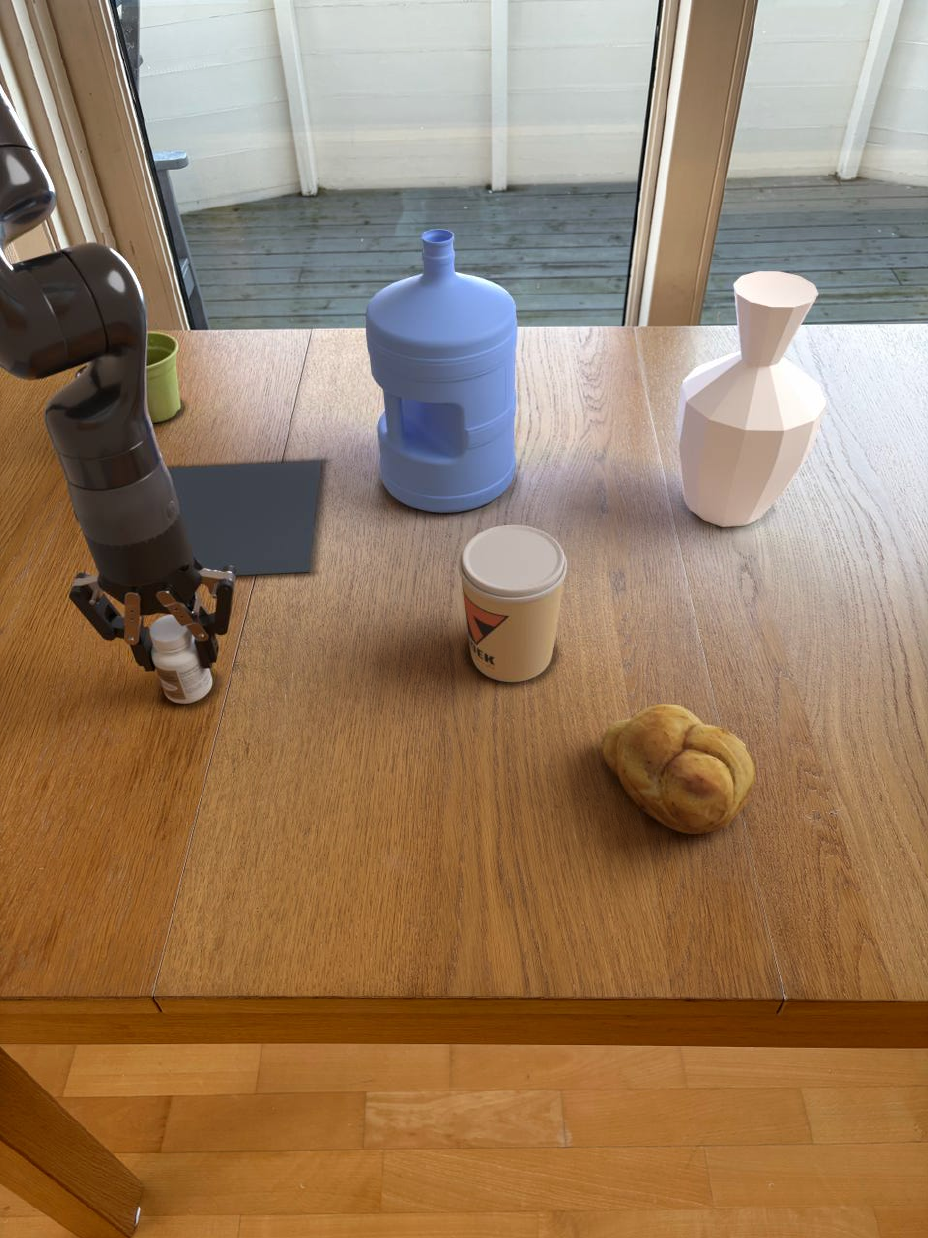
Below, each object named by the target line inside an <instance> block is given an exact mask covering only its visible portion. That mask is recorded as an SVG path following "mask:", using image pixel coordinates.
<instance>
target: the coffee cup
mask: <svg viewBox="0 0 928 1238" xmlns="http://www.w3.org/2000/svg"><path fill="white" fill-rule="evenodd" d="M458 570H459V575H460V578H461V587H462V595H463V604H464V610H465V611H464V613H465V619H466V627H467V635H468V642H469V649H470V656H471V659H472V661H473V663H474V666H475V667H476V668H477V669H478V671H480V672H481V673H482V674H483V675H485V676H486V677H488V678H491V679H492V680H496V681H499V682H505V683H519V682H520V683H521V682H525V681H528V680H531V679H533V678H536V677H537V676H539V675H540V674H541V673H543V672H544V671H545V670H546V669H547V668H548V666H549V664H550V663H551V660H552V657H553V652H554V647H555V643H556V642H555V641H556V635H557V630H558V629H557V628H558V621H559V616H560V611H561V610H560V609H561V602H562V596H563V589H564V581H565V577H566V575H567V570H568V562H567V557H566V554H565V552H564V550H563V548H562V547H561V545H560V543H558V541H557V540H556V539H555V538H554V537H553V536H552V535H550V534H548V533H547V532H545V531H543V530H541V529H538V528H536V527H533V526H527V525H522V524H502V525H497V526H493V527H490V528H487V529H485V530H482V531H480V532H478V533H477V534H475V535H474V536H473V537H472V538H470V540H469V541H468V542H467V543H466V544H465V546H464V548H463V549H462V550H461V553H460V555H459V560H458Z"/></svg>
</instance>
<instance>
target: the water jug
mask: <svg viewBox="0 0 928 1238" xmlns="http://www.w3.org/2000/svg"><path fill="white" fill-rule="evenodd" d="M420 240H421V242H422V245H423V246H422V247H423V250H422V252H421V258H422V262H423V263H422V264H423V272H422V273H420V274H417V275H414V276H411V277H407V278H404V279H401V280H398V281H395V282H393V283H391V284H389V285H387V286H385V287H383V288H382V289H381V290H379V291H378V292H376V293H375V295H374V296H373V297H371V299H370V301H369V302H368V303H367V306H366V310H365V338H366V347H367V352H368V355H369V362H370V372H371V376H372V378H373V380H374V381H375V383H376V384H377V385H378V386H379V387H380V389H382V394H383V395H382V396H383V404H384V411H383V412H382V413H381V415H380V416H379V419H378V421H377V426H376V427H377V428H376V432H377V441H378V450H379V457H378V458H379V459H378V463H379V474H380V478H381V479H380V480H381V481H382V484H383V486H384V488H385V489H386V490H387V492H388V493H389V494H390V495H391V496H392V497H393V498H395V499H396V500H397V501H399V502H400V503H402V504H404V505H406V506H408V507H411V508H414V509H416V510H420V511H424V512H430V513H441V514H442V513H444V514H447V513H448V514H449V513H459V512H465V511H470V510H473V509H478V508H480V507H482V506H485V505H488V504H490V503H491V502H493V501H495V500H496V499H498V498H499V497H500V496H501V495H502V494H504V493H505V492H506V490H507V489H508V488H509V487H510V485H511V484H512V482H513V479H514V477H515V474H516V473H515V472H516V453H515V421H516V412H517V391H516V390H517V389H516V355H517V354H516V353H517V352H516V351H517V345H518V320H517V305H516V302H515V300H514V298H513V297H512V296H511V294H510V293H509V292H508V291H507V290H506V289H504V287H502V286H501V285H499V284H497V283H495V282H493V281H490V280H489V279H485V278H483V277H480V276H479V277H478V276H474V275H469V274H465V273H461V272H456V270H455V269H456V268H455V258H456V252H455V249H454V244H453V243H454V241H455V233H453V231H450V230H447V229H441V228H437V229H429V230H427V231H425V232H423V233H421V236H420Z"/></svg>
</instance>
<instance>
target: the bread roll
mask: <svg viewBox="0 0 928 1238" xmlns="http://www.w3.org/2000/svg"><path fill="white" fill-rule="evenodd" d="M601 746H602V747H601V751H602V752H601V753H602V755H603V759H604V761H605V763H606V765H607V766H608V768H609V769H610V770H611V771H612V773H614V774H615V775H616V776H617V777H618V779H619V782H620V784H621V786H622V788H623V790H624V791H625V793H626V794H627V795H628V797H629V798H630V799H631V800H633V802H635V804H636V805H637V806H638V807H639V808H640V810H642V811H643V812H644V813H646V814H647V815H648V816H649V817H651V818H653V819H654V820H656V821H657V822H658V823H660V824H662V825H663V826H665V827H667V828H668V829H671V830H673V831H677V832H679V833H682V834H685V835H690V834H691V835H700V834H701V835H702V834H707V833H711V832H715V831H717V830H720V829H723V828H727V827H728V826H729V825H730V824H731V823H732V821H733V820H734V818H735V817H736V816H737V815H738V814H739V813H740V812H741V811H742V810H743V809H744V808H746V804H747V802H748V800H749V797H750V795H751V794H752V791H753V787H754V784H755V781H756V777H755V776H756V775H755V773H756V771H755V768H754V767H755V766H754V763H753V760H752V756H751V754H750V753H749V751H748V750H747V749H746V746H747V744H745V743H744V742H743V740H741V739H739V737H737V736H736V735H735V734H733V733H731V732H730V731H729V730H728V729H726V728H722V727H719V726H715V725H713V724H705V723H703V721H702V720H701V719H699V718H698V717H697V716H696V715H695V714H694V713H693V712H691V710H688V709H687V708H685V707H683V706H682V705H678V704H663V703H660V704H656V705H653V706H649V707H646V708H643V709H642V710H640V711H638V712H637V713H636V714H634V715H633V716H632V717H631V718H629V719H620V720H617V721H614V722H613V723H611V724H610V725H609V726H608V727H607V728H606V730H605V732H604V734H603V737H602V741H601Z"/></svg>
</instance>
